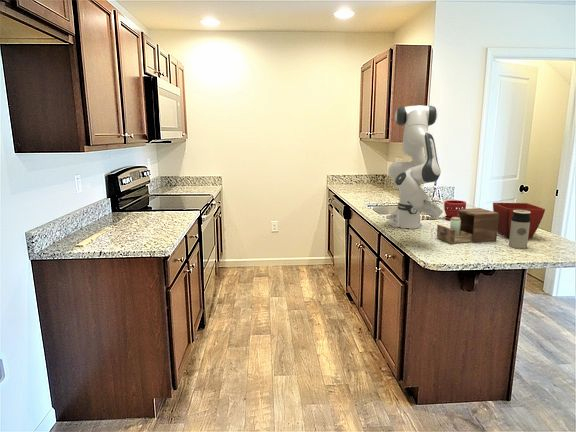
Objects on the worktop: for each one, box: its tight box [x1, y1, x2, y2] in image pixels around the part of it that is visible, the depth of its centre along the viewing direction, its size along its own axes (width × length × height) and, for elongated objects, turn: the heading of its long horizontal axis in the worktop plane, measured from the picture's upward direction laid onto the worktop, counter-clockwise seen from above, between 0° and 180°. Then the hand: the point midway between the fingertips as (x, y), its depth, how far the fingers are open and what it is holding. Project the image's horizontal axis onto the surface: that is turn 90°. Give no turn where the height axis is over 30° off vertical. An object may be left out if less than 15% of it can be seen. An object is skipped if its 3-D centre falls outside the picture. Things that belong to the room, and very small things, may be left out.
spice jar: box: [449, 217, 461, 236], centre depth 209 cm, size 5×5×11 cm
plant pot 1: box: [443, 199, 467, 221], centre depth 258 cm, size 13×13×12 cm
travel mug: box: [508, 210, 531, 249], centre depth 197 cm, size 8×8×18 cm
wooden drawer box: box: [457, 207, 499, 244], centre depth 212 cm, size 14×14×15 cm
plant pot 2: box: [492, 202, 546, 239], centre depth 218 cm, size 19×19×17 cm
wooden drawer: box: [436, 224, 473, 245], centre depth 209 cm, size 13×16×7 cm
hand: (434, 217), depth 204 cm, fingers closed
